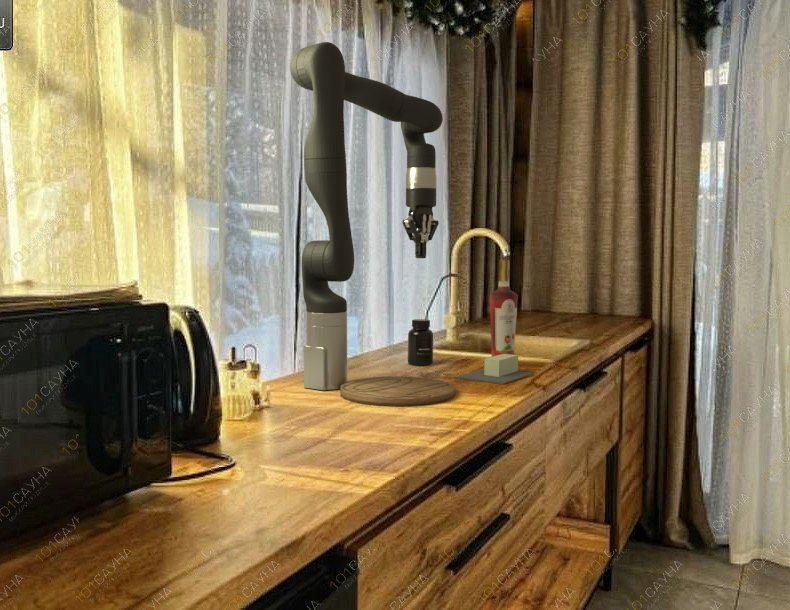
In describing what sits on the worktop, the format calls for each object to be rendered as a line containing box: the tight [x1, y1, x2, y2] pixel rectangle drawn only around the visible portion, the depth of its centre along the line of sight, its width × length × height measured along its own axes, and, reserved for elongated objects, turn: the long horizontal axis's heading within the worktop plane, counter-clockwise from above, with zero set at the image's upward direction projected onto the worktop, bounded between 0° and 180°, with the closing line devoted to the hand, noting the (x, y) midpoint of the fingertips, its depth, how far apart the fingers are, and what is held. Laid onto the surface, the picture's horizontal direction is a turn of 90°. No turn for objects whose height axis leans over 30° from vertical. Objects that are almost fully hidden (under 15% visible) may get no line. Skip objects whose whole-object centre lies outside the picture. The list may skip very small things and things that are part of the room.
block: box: [483, 354, 519, 377], centre depth 188 cm, size 4×4×10 cm
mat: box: [455, 368, 535, 385], centre depth 185 cm, size 16×13×1 cm
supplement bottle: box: [407, 318, 434, 367], centre depth 203 cm, size 7×7×12 cm
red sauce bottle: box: [489, 259, 519, 357], centre depth 200 cm, size 7×7×28 cm
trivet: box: [340, 375, 456, 408], centre depth 164 cm, size 25×25×2 cm
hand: (420, 258), depth 186 cm, fingers closed
